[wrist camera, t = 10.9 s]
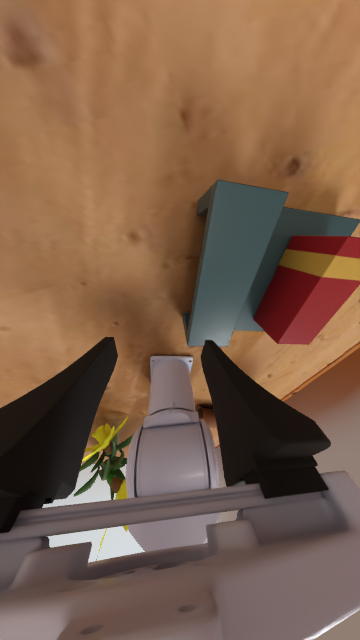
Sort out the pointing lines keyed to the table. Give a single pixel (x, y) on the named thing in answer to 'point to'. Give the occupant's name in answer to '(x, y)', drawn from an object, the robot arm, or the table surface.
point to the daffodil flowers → (107, 462)
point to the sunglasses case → (207, 416)
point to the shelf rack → (245, 255)
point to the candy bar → (309, 287)
